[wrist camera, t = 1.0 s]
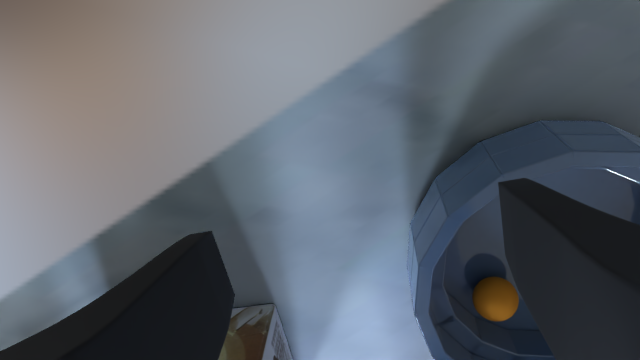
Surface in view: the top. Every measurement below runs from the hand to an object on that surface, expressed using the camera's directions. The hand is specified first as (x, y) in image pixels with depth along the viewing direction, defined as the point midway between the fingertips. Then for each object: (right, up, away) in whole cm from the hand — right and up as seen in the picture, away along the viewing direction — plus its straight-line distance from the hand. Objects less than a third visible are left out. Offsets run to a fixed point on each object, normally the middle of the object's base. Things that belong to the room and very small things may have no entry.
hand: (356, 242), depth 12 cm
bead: (+7, -4, +10) cm, 13 cm away
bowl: (+9, -1, +11) cm, 14 cm away
